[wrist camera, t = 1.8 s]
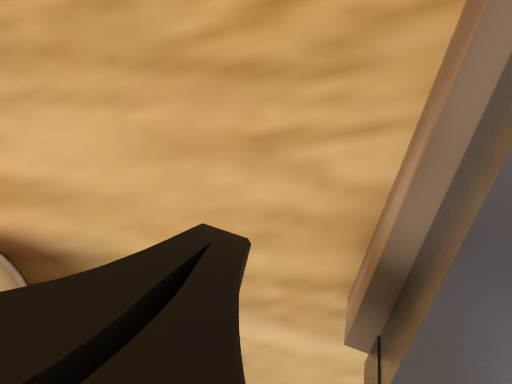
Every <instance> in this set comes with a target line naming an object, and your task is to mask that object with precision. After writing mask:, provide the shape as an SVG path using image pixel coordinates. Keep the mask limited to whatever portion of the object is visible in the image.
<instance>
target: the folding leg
mask: <svg viewBox="0 0 512 384" xmlns="http://www.w3.org/2000/svg"><path fill="white" fill-rule="evenodd" d="M364 384H512V52H511V54H510V57H509V59H508V61H507V63H506V65H505V67H504V69H503V72H502V74H501V76H500V78H499V80H498V82H497V85H496V87H495V89H494V91H493V93H492V95H491V97H490V100H489V102H488V104H487V106H486V108H485V110H484V113H483V115H482V117H481V119H480V121H479V123H478V125H477V128H476V130H475V132H474V134H473V136H472V138H471V141H470V143H469V145H468V147H467V149H466V151H465V153H464V156H463V158H462V160H461V162H460V164H459V166H458V169H457V171H456V173H455V175H454V177H453V179H452V181H451V184H450V186H449V188H448V190H447V192H446V194H445V197H444V199H443V201H442V203H441V205H440V207H439V209H438V212H437V214H436V216H435V218H434V220H433V222H432V225H431V227H430V229H429V231H428V233H427V235H426V237H425V240H424V242H423V244H422V246H421V248H420V250H419V253H418V255H417V257H416V259H415V261H414V263H413V265H412V268H411V270H410V272H409V274H408V276H407V278H406V281H405V283H404V285H403V287H402V289H401V291H400V293H399V296H398V298H397V300H396V302H395V304H394V306H393V309H392V311H391V313H390V315H389V317H388V319H387V321H386V324H385V326H384V328H383V330H382V332H381V334H380V336H377V338H376V340H375V342H374V344H373V346H372V349H371V351H370V353H369V355H368V357H367V359H366V362H365V369H364Z"/></svg>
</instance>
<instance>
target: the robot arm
mask: <svg viewBox="0 0 512 384" xmlns="http://www.w3.org/2000/svg"><path fill="white" fill-rule="evenodd" d="M250 246H251V243H250V241H249V240H248V238H245V237H242V236H239V235H236V234H233V233H230V232H227V231H224V230H221V229H218V228H215V227H212V226H209V225H206V224H203V223H202V224H200V225H198V226H195V227H193V228H191V229H189V230H187V231H185V232H183V233H180V234H178V235H176V236H174V237H172V238H170V239H167V240H165V241H163V242H161V243H158V244H156V245H154V246H152V247H149V248H147V249H145V250H142V251H140V252H137V253H135V254H132V255H129V256H127V257H124V258H122V259H119V260H116V261H114V262H111V263H109V264H106V265H103V266H100V267H97V268H94V269H91V270H88V271H84V272H81V273H77V274H74V275H70V276H67V277H63V278H60V279H56V280H52V281H48V282H43V283H39V284H34V285H29V286H25V287H20V288H15V289H11V290H6V291H1V292H0V384H246V383H245V378H244V372H243V364H242V356H241V347H240V336H239V291H240V287H241V282H242V278H243V274H244V270H245V266H246V262H247V258H248V254H249V250H250Z"/></svg>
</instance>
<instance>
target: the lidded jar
mask: <svg viewBox="0 0 512 384" xmlns="http://www.w3.org/2000/svg"><path fill="white" fill-rule="evenodd" d="M25 286H27V284H26V282H25V280H24V279H23V277H22V276H21V274H20V273H19V271H18V270H17V269H16V268H15V267H14V265H13V264H12V263H11V262H10V261H9V260H8V259H7V258H5V257H4V256H3V255H2V254H1V253H0V292H1V291H6V290H11V289H15V288H20V287H25Z"/></svg>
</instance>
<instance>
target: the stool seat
mask: <svg viewBox="0 0 512 384" xmlns="http://www.w3.org/2000/svg"><path fill="white" fill-rule="evenodd" d="M511 52H512V0H467V2H466V4H465V7H464V9H463V12H462V14H461V17H460V19H459V22H458V24H457V27H456V30H455V32H454V35H453V37H452V40H451V42H450V45H449V47H448V50H447V52H446V55H445V57H444V60H443V62H442V65H441V67H440V70H439V72H438V75H437V77H436V80H435V82H434V85H433V87H432V90H431V92H430V95H429V97H428V100H427V102H426V105H425V107H424V110H423V112H422V115H421V117H420V120H419V122H418V125H417V127H416V130H415V132H414V135H413V137H412V140H411V142H410V145H409V147H408V150H407V152H406V155H405V158H404V160H403V163H402V165H401V168H400V170H399V173H398V175H397V178H396V180H395V183H394V185H393V188H392V190H391V193H390V195H389V198H388V200H387V203H386V205H385V208H384V210H383V213H382V215H381V218H380V220H379V223H378V225H377V228H376V230H375V233H374V235H373V238H372V240H371V243H370V245H369V248H368V250H367V253H366V255H365V258H364V260H363V263H362V265H361V268H360V270H359V273H358V275H357V278H356V280H355V283H354V286H353V288H352V291H351V293H350V296H349V298H348V308H347V318H346V328H345V339H344V345H346V346H349V347H352V348H354V349H357V350H360V351H363V352H365V353H368V354H369V353H370V351H371V349H372V346H373V344H374V342H375V340H376V338H377V336H380V334H381V332H382V330H383V328H384V326H385V324H386V321H387V319H388V317H389V315H390V313H391V311H392V309H393V306H394V304H395V302H396V300H397V298H398V296H399V293H400V291H401V289H402V287H403V285H404V283H405V281H406V278H407V276H408V274H409V272H410V270H411V268H412V265H413V263H414V261H415V259H416V257H417V255H418V253H419V250H420V248H421V246H422V244H423V242H424V240H425V237H426V235H427V233H428V231H429V229H430V227H431V225H432V222H433V220H434V218H435V216H436V214H437V212H438V209H439V207H440V205H441V203H442V201H443V199H444V197H445V194H446V192H447V190H448V188H449V186H450V184H451V181H452V179H453V177H454V175H455V173H456V171H457V169H458V166H459V164H460V162H461V160H462V158H463V156H464V153H465V151H466V149H467V147H468V145H469V143H470V141H471V138H472V136H473V134H474V132H475V130H476V128H477V125H478V123H479V121H480V119H481V117H482V115H483V113H484V110H485V108H486V106H487V104H488V102H489V100H490V97H491V95H492V93H493V91H494V89H495V87H496V85H497V82H498V80H499V78H500V76H501V74H502V72H503V69H504V67H505V65H506V63H507V61H508V59H509V57H510V54H511Z"/></svg>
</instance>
